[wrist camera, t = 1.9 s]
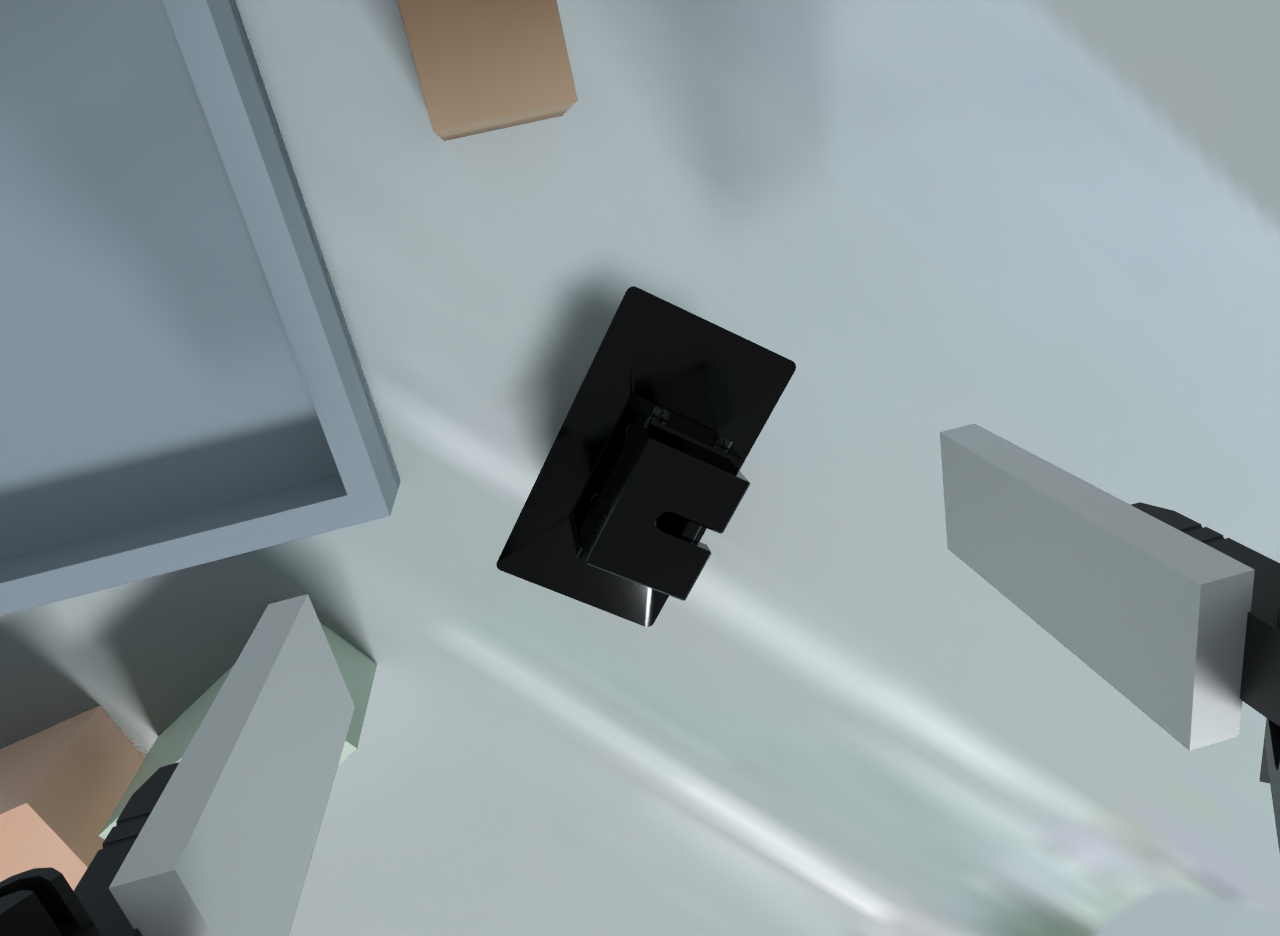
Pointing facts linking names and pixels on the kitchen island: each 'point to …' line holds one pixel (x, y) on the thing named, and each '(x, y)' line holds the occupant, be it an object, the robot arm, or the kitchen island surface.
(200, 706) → the brick sage
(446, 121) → the brick walnut
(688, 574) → the build plate
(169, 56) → the tray
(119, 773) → the cube terracotta
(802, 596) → the kitchen island surface
